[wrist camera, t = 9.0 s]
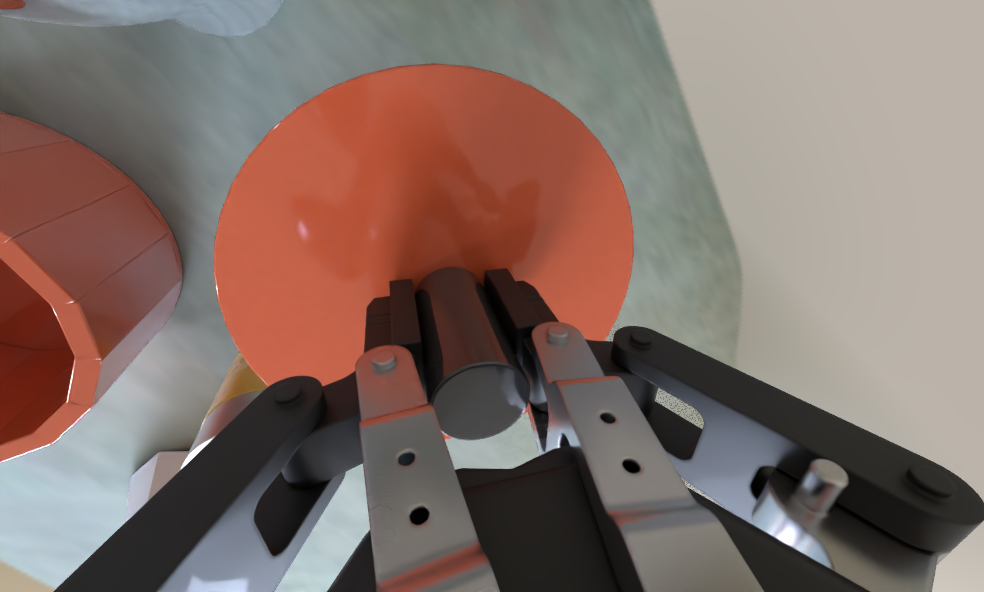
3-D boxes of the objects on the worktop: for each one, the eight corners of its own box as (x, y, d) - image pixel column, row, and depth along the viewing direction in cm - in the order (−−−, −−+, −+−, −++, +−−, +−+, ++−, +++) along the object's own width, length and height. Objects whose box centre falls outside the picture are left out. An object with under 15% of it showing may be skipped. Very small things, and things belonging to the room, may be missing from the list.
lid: (180, 378, 13) (55, 568, 8) (311, -62, 9) (217, -242, 4) (507, 445, 19) (553, 581, 14) (686, 197, 15) (849, 263, 10)
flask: (233, 520, 31) (176, 690, 22) (118, 506, 27) (1, 699, 19) (268, 458, 28) (220, 621, 20) (148, 435, 25) (31, 618, 17)
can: (231, 377, 25) (164, 513, 17) (259, 299, 23) (198, 413, 15) (330, 398, 27) (310, 525, 20) (363, 330, 25) (355, 440, 18)
